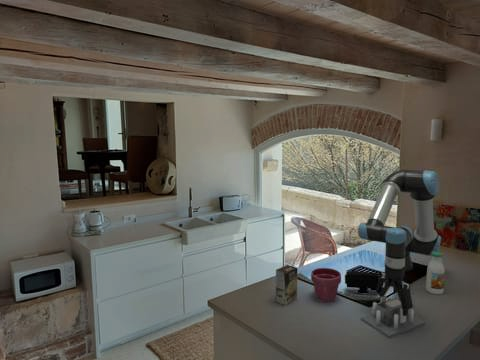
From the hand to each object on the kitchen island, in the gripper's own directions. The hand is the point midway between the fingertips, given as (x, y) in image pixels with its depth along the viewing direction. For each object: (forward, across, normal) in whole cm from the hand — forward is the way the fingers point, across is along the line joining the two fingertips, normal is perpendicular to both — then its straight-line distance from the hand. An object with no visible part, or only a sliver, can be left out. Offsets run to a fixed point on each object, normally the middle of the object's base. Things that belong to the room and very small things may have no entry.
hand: (392, 316), depth 147 cm
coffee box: (+3, -37, -29) cm, 47 cm away
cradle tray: (+3, 0, 0) cm, 3 cm away
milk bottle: (+3, -10, +41) cm, 42 cm away
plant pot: (+3, -30, -11) cm, 32 cm away
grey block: (+2, 0, 0) cm, 2 cm away
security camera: (+3, -25, +9) cm, 27 cm away
